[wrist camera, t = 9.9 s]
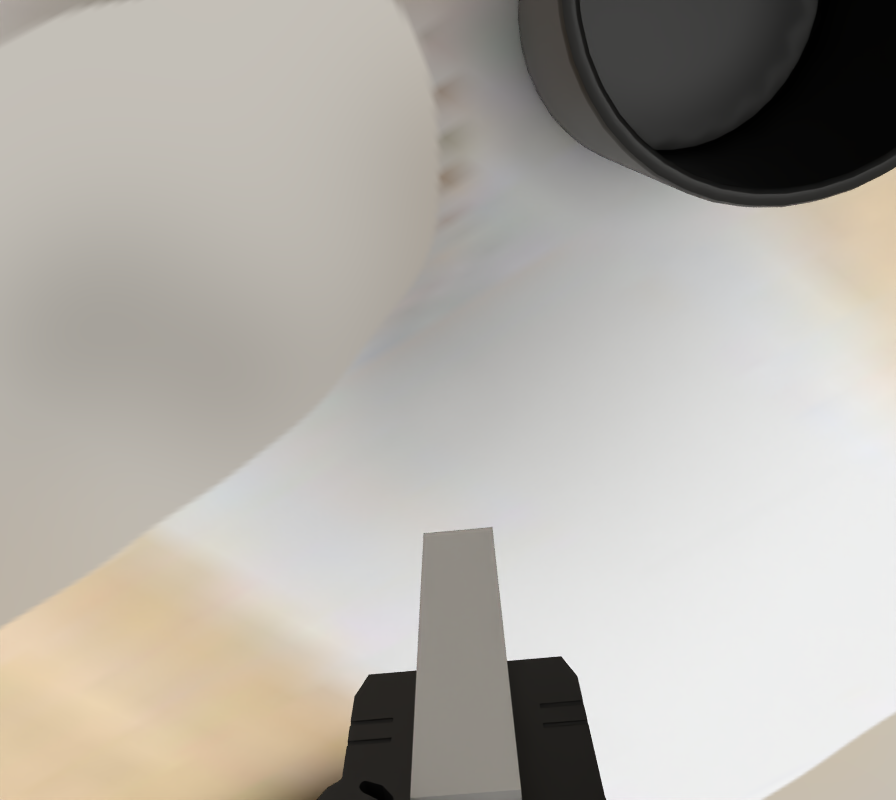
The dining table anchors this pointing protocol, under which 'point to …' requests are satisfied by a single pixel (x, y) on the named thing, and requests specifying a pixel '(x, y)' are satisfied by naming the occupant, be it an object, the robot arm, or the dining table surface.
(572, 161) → the dining table surface
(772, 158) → the mug
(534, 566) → the dining table surface
